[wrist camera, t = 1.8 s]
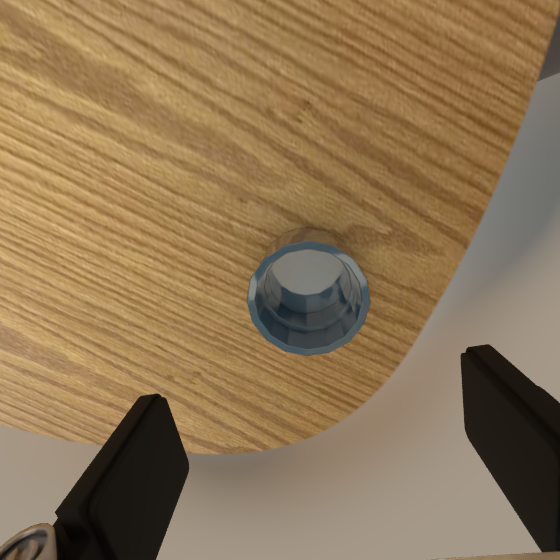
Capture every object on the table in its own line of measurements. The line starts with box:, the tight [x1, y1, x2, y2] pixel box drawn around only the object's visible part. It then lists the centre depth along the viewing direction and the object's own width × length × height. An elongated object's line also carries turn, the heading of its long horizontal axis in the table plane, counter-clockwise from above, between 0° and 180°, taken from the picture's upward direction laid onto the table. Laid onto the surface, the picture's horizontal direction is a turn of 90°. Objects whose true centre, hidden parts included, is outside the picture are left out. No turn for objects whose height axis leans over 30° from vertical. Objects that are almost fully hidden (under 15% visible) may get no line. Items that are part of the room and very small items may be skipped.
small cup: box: [247, 228, 370, 356], centre depth 23 cm, size 7×7×6 cm
